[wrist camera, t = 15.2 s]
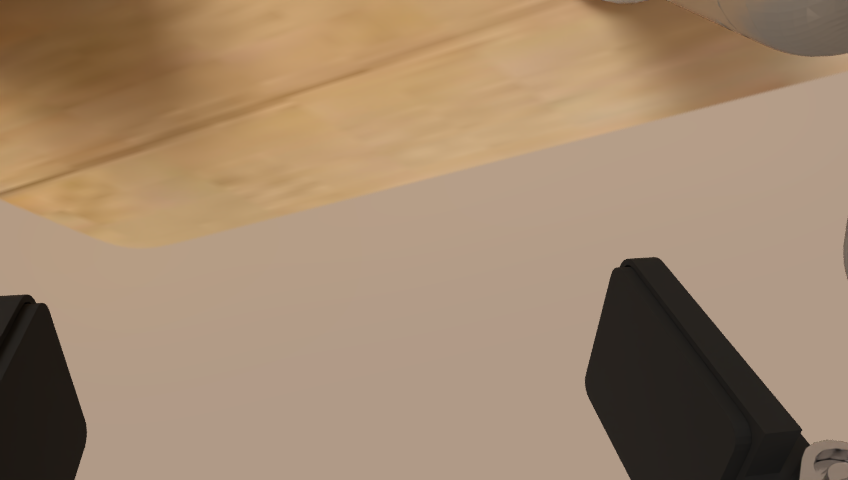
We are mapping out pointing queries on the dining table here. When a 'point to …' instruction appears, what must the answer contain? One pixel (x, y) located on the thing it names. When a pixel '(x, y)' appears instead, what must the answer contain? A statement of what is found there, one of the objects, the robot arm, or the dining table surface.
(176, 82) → the dining table surface
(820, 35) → the robot arm
